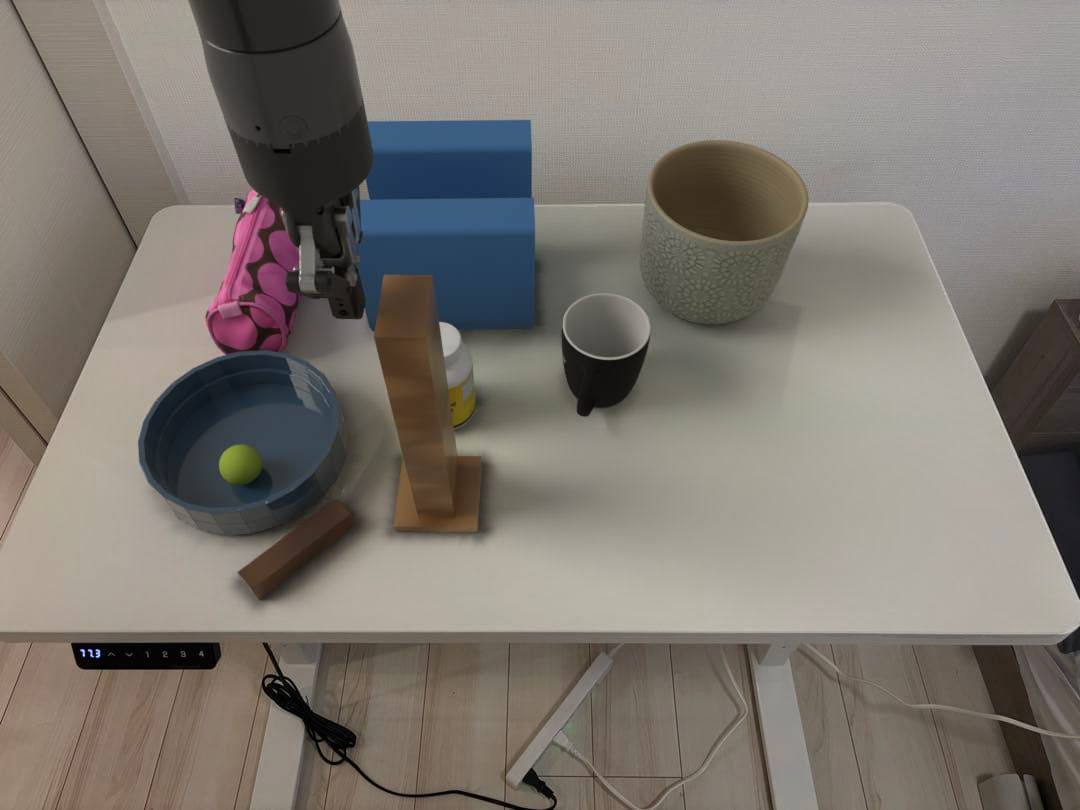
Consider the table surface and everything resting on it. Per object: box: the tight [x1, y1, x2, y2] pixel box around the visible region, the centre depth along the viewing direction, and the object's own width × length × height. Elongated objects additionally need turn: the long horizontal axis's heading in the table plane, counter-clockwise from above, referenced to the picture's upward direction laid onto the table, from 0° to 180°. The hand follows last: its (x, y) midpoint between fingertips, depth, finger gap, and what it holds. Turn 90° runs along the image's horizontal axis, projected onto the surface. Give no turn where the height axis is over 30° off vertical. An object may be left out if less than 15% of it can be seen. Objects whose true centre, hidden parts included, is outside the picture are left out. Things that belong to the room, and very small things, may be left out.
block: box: [357, 119, 536, 332], centre depth 88 cm, size 18×18×18 cm
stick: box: [237, 497, 356, 601], centre depth 75 cm, size 11×2×2 cm, turn 135°
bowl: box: [137, 350, 349, 536], centre depth 80 cm, size 19×19×5 cm
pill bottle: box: [439, 322, 477, 431], centre depth 81 cm, size 6×6×12 cm
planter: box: [639, 139, 810, 325], centre depth 90 cm, size 17×17×15 cm
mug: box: [561, 292, 652, 418], centre depth 83 cm, size 12×9×10 cm
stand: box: [373, 275, 483, 533], centre depth 68 cm, size 8×8×28 cm
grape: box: [219, 445, 262, 485], centre depth 78 cm, size 4×4×4 cm
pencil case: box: [205, 188, 302, 356], centre depth 91 cm, size 21×10×10 cm, turn 2°
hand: (350, 311), depth 57 cm, fingers closed
